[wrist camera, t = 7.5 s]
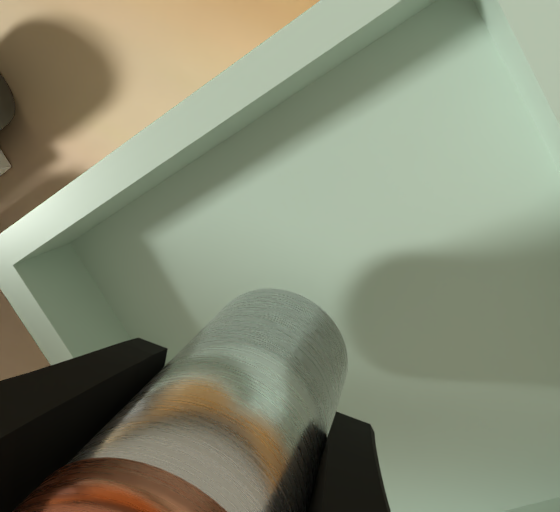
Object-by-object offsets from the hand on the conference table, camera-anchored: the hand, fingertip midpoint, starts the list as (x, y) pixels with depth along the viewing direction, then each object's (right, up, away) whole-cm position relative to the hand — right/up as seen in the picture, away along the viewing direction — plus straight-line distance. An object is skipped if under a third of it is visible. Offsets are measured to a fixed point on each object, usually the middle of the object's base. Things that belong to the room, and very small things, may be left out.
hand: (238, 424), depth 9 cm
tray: (+3, +1, +5) cm, 6 cm away
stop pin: (+1, +1, +2) cm, 2 cm away
